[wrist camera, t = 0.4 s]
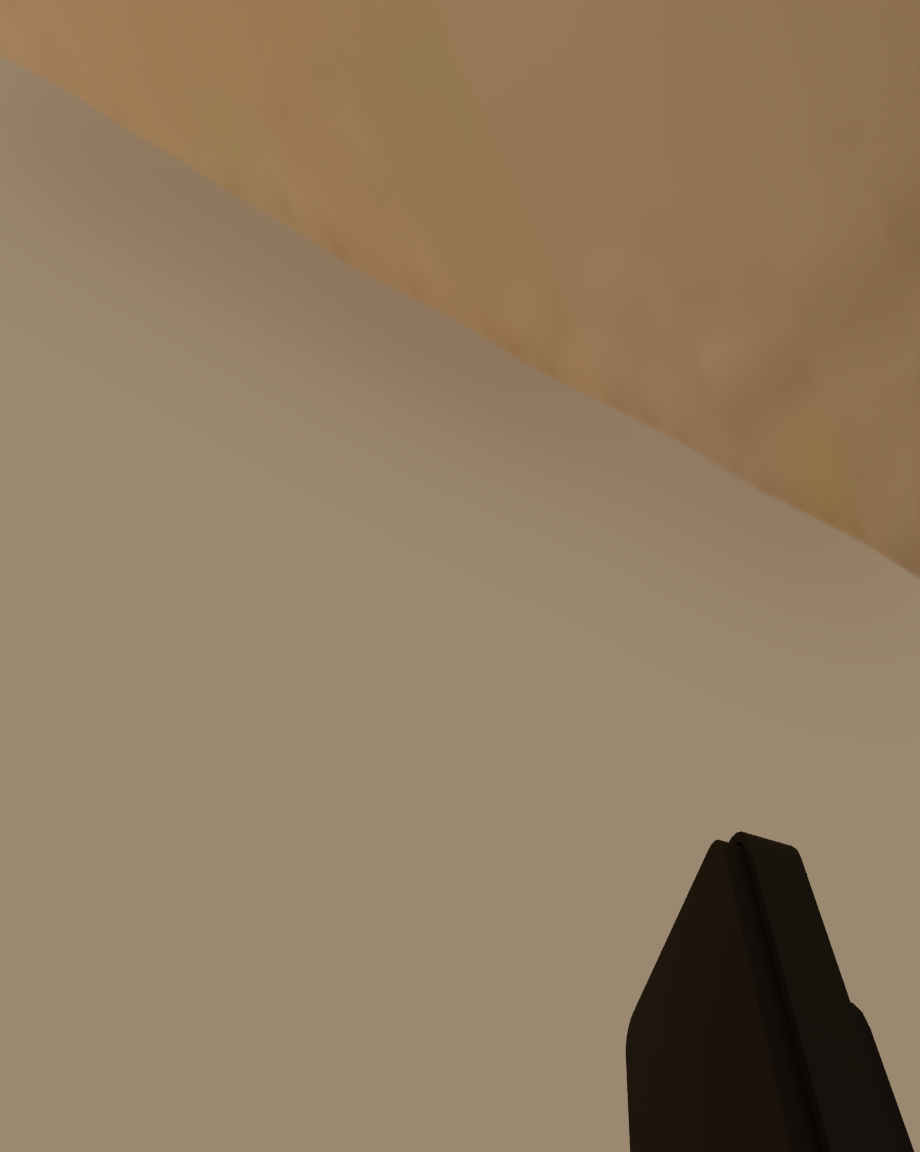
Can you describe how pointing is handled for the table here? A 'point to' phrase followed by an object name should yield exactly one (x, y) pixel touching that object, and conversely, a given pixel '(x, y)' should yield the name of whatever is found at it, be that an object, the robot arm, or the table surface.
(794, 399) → the table surface
